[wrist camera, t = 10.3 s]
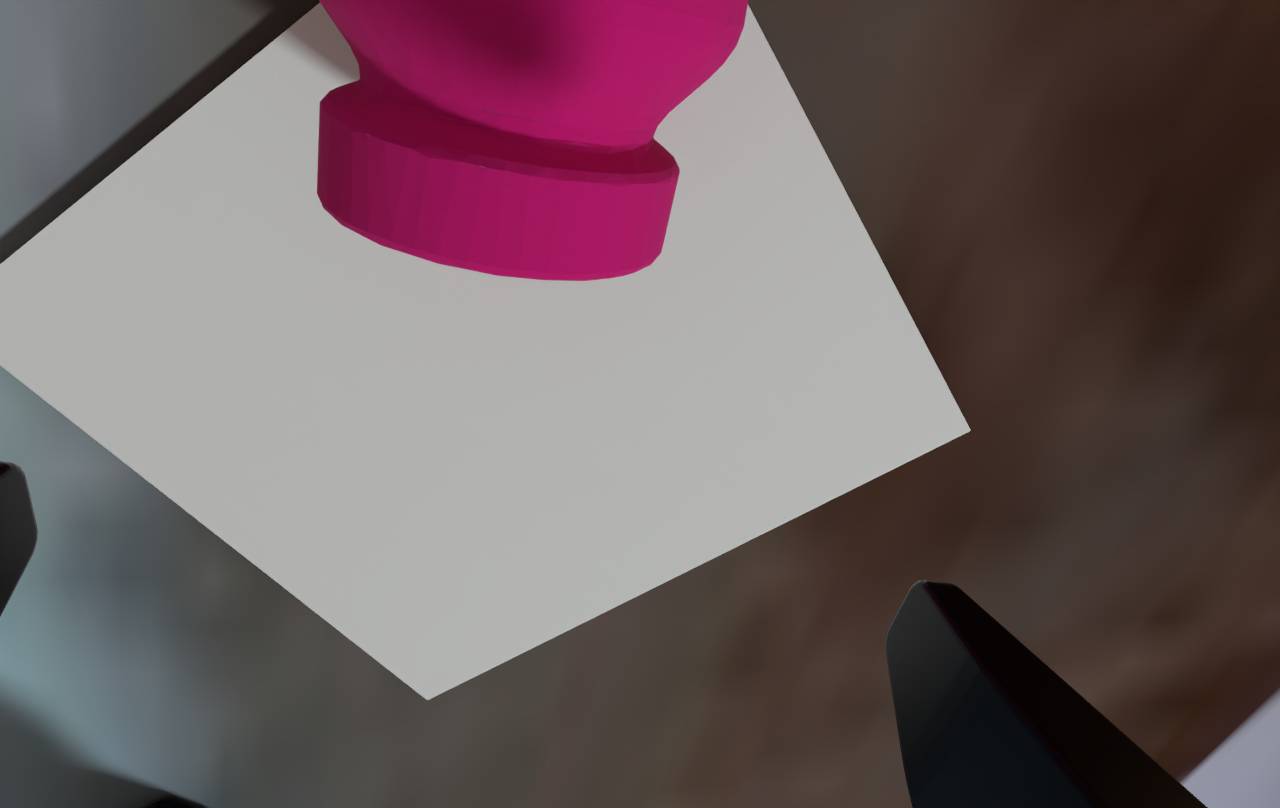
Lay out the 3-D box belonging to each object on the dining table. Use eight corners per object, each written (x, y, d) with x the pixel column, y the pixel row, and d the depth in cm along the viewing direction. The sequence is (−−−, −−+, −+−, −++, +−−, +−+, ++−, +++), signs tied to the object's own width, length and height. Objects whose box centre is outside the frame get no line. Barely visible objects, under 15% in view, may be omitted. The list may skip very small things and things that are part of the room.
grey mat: (429, 690, 29) (427, 700, 29) (-53, 308, 21) (-64, 315, 20) (965, 422, 24) (970, 430, 24) (618, -241, 15) (618, -243, 15)
